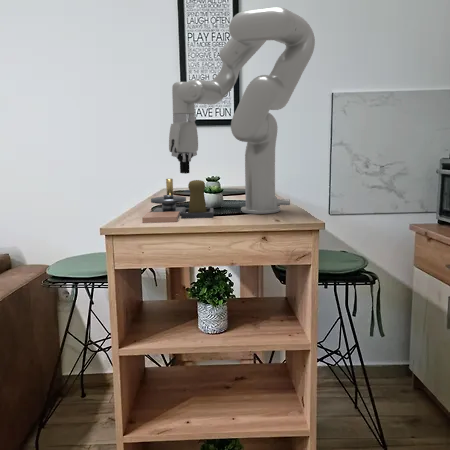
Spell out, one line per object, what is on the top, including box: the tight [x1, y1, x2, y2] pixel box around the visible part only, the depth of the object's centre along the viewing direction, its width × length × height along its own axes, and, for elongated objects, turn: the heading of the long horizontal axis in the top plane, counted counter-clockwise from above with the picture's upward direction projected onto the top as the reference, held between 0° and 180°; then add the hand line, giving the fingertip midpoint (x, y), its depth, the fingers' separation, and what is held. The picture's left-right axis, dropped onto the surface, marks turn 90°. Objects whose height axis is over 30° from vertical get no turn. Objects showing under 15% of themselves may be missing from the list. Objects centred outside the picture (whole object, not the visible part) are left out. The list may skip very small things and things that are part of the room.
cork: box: [187, 179, 207, 213], centre depth 143 cm, size 6×6×11 cm
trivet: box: [142, 211, 181, 224], centre depth 138 cm, size 10×10×2 cm
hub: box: [152, 203, 186, 212], centre depth 153 cm, size 10×10×3 cm
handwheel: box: [150, 178, 187, 205], centre depth 152 cm, size 12×12×7 cm
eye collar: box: [180, 207, 214, 219], centre depth 144 cm, size 10×10×2 cm
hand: (184, 173), depth 162 cm, fingers closed
